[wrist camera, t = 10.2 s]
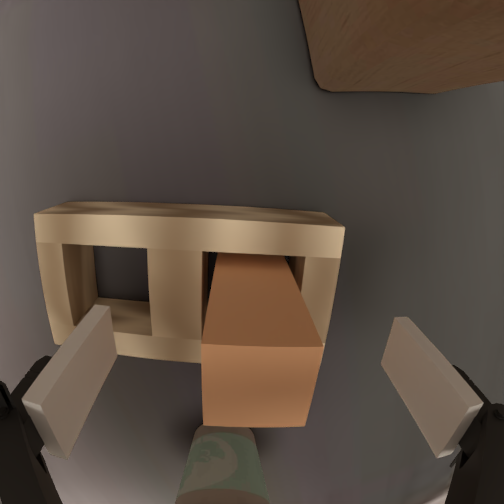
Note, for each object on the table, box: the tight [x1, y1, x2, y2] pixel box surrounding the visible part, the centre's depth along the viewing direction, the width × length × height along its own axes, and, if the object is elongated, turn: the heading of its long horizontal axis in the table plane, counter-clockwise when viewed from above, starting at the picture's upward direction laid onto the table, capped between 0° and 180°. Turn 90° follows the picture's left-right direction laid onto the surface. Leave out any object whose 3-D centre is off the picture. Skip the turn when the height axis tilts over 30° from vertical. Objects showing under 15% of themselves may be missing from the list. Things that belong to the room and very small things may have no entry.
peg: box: [201, 252, 324, 427], centre depth 16 cm, size 4×4×12 cm
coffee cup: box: [175, 424, 270, 504], centre depth 21 cm, size 8×8×12 cm
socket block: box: [34, 202, 345, 364], centre depth 20 cm, size 18×9×4 cm, turn 86°
